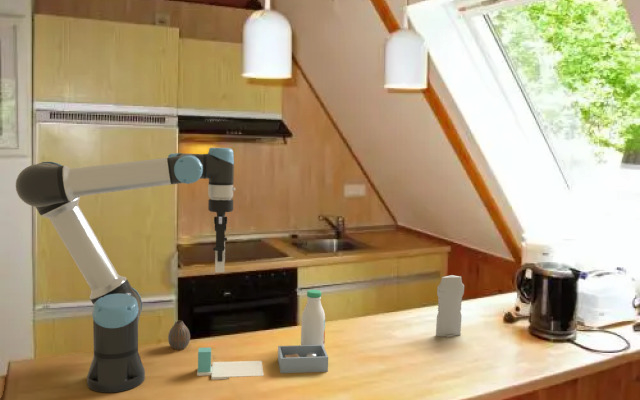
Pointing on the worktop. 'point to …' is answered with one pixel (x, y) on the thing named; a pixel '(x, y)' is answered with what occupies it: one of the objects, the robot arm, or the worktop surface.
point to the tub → (302, 359)
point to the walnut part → (291, 355)
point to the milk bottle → (313, 320)
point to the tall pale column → (449, 306)
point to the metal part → (311, 354)
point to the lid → (226, 367)
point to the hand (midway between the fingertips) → (220, 266)
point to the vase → (179, 336)
